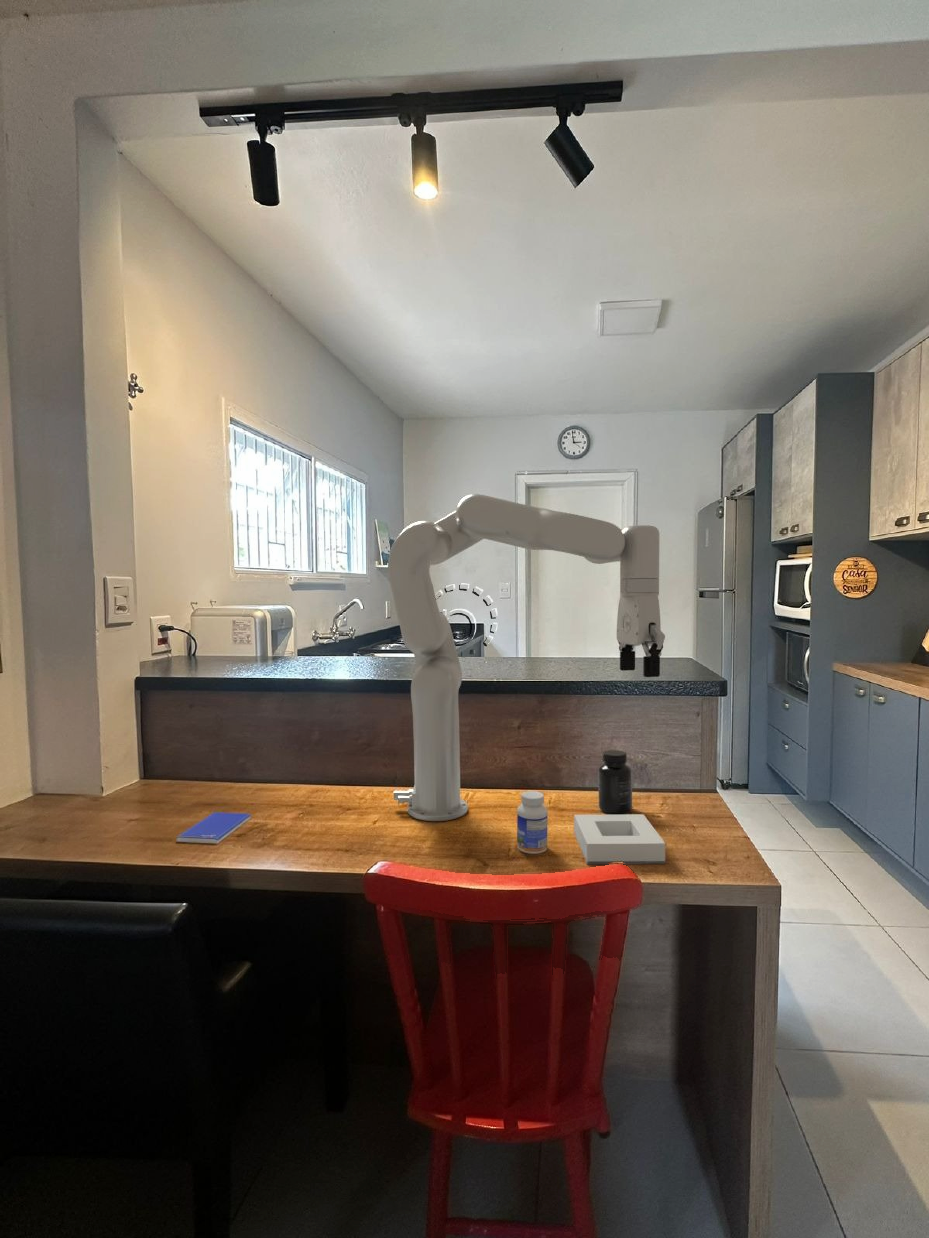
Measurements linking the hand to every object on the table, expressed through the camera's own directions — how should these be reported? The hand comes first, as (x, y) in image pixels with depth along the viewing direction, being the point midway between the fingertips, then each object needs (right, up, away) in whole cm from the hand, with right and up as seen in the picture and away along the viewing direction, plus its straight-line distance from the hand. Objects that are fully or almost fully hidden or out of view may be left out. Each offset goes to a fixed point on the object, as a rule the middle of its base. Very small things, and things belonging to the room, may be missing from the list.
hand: (639, 673), depth 122 cm
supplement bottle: (-4, -29, +4) cm, 29 cm away
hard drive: (-84, -31, -4) cm, 89 cm away
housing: (-8, -30, -14) cm, 34 cm away
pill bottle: (-23, -30, -14) cm, 40 cm away
